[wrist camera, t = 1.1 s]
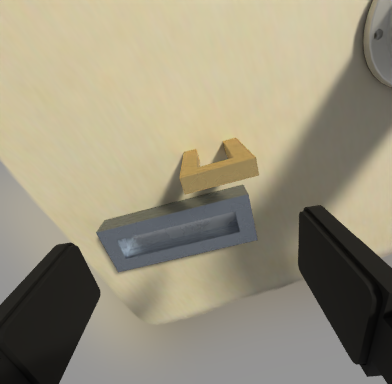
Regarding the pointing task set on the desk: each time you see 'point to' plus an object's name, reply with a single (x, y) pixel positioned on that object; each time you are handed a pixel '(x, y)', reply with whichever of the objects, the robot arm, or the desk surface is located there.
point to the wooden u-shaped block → (217, 168)
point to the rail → (179, 229)
